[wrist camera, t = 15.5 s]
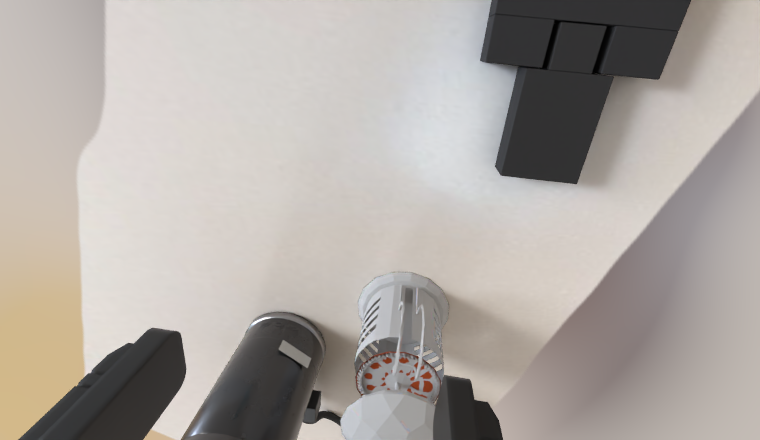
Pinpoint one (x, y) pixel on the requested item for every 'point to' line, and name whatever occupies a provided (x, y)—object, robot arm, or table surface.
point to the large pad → (595, 7)
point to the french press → (397, 359)
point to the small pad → (555, 108)
